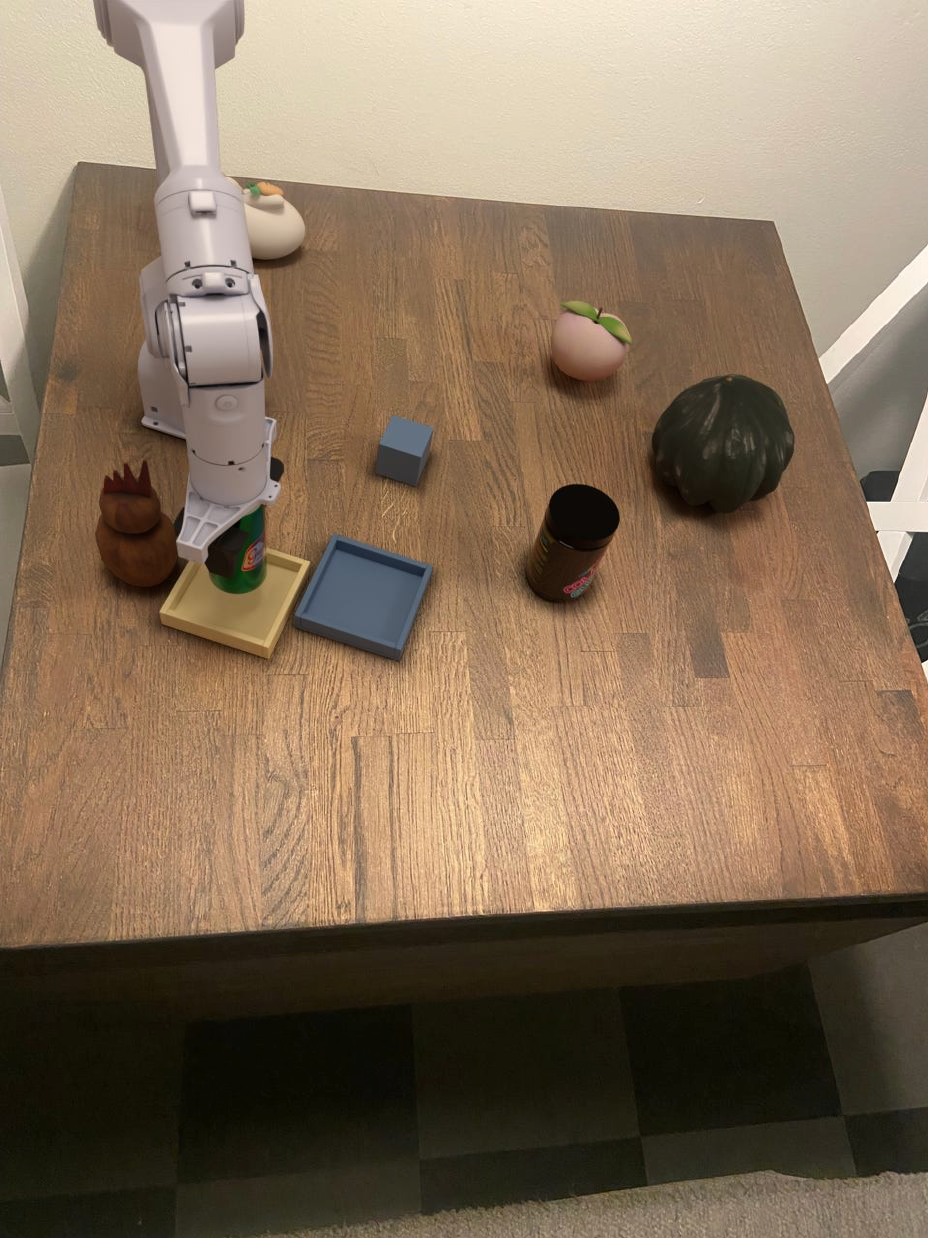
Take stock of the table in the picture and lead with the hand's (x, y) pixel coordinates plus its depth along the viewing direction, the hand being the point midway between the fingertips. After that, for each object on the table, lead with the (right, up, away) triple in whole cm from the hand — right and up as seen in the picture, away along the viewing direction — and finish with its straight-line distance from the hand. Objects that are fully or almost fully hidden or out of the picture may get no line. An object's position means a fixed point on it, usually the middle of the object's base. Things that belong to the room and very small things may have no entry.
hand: (234, 548), depth 79 cm
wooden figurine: (-10, -2, +6) cm, 12 cm away
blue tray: (+10, -4, +8) cm, 14 cm away
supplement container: (+29, -2, +14) cm, 32 cm away
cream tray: (-1, -4, +6) cm, 8 cm away
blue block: (+13, +10, +18) cm, 25 cm away
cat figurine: (-8, +39, +34) cm, 53 cm away
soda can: (0, -2, +3) cm, 4 cm away
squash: (+47, +10, +25) cm, 54 cm away
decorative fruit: (+33, +23, +31) cm, 51 cm away
